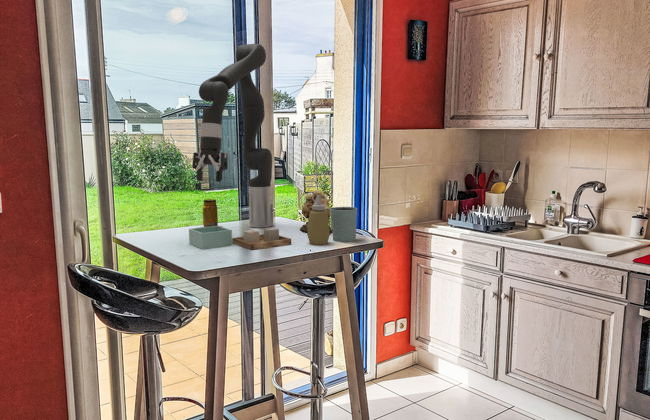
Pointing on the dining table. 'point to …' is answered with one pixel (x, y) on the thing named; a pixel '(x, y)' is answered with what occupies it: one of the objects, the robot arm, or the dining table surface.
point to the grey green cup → (344, 223)
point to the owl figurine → (308, 207)
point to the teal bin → (210, 237)
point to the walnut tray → (261, 243)
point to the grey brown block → (271, 234)
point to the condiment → (210, 213)
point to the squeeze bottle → (318, 224)
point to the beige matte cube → (251, 236)
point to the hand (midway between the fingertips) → (208, 181)
